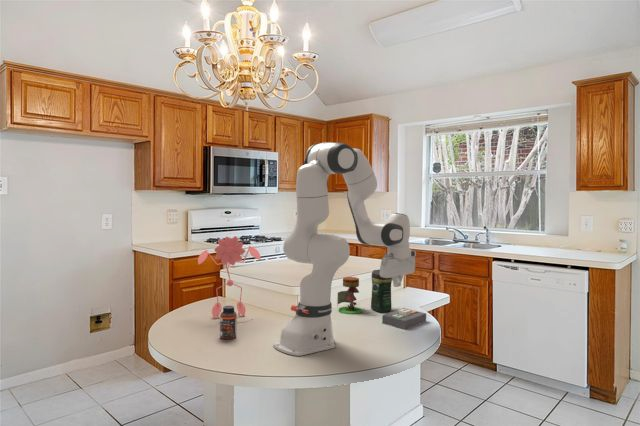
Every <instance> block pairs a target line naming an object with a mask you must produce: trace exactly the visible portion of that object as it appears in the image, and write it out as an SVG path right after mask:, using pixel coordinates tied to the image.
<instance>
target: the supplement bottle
mask: <svg viewBox="0 0 640 426" xmlns="http://www.w3.org/2000/svg"><path fill="white" fill-rule="evenodd" d="M237 315H238V313H237V312H236V311H235V306H234V305H224V306H222V312H220V314H219V316H220V317H219V319H220V321H219V323H220V324H219V337H220V338H221V339H223V340H232V339H235V338H236V337H237V324H238V322H237V321H238V320H237V319H238V318H237V317H238V316H237Z"/></svg>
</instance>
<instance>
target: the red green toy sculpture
mask: <svg viewBox="0 0 640 426" xmlns="http://www.w3.org/2000/svg"><path fill="white" fill-rule="evenodd" d="M359 286H360V278H359V277H355V276H346V277H345V276H344V277H343V278H342V287H344V288H348V289H347V290H343V291H338V292H337V299H336V301H337V303H336V304H337V307H339V305H340V304H341V303H347V306H342V307H339V308H338V312H339V313H342V314H347V315H355V314H356V315H357V314H361V313H363V309H362V308H360V307H358V306H357V305H358V304H357V302H356V301H357V297H356V296H355V295H354V294H355V293H356V294H359V293H360V291H359V289H358V287H359Z"/></svg>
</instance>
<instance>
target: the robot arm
mask: <svg viewBox="0 0 640 426" xmlns="http://www.w3.org/2000/svg"><path fill="white" fill-rule="evenodd" d="M335 174H336V175H341V176H342V177H343V180H344V181H345V184H346V187H347V190H348V191H347V195H346V196H347V197H346V198H347V202H348V207H349V209H350V212H351V215H352V219H353V223H354V228H355V232H356V233H355V234H356V238H357V240H358V241H359V242H360V244H362V245H366V246H368V245H369V246H370V245H371V246H372V245H373V246H378V247H379V246H380V247H381V246H382V247H387V248H386V249H387V250H386V254H384V255H383V257H382V258H381V261H380V265H379V270H380V276H381V277H383V278H391V277H392V284H393V285H392V286H393V287H394V288H399V287H402V281H403V279H404V276H406V275H411V274H414V273H415V271H416V258H415V257H416V256H417V252H416V251H415V250H413V249H411V248H410V242H409V241H410V236H411V225H410V223H411V221H410V219H409V216H408V215H407V214H405V213H398V212H392V213H390V214H389V217H387V218H386V219H385V220H382V221H377V220H372V219H371V218H370V217H369V216H368V212H367V209H366V205H365V201H366V200H367V199H369V198H371V197H372V196H373V195H374V194H375V192H376V190H377V187H378V181H377V180H378V179H377V177H376V175H375V172H374V170H373V168H372V165H371V164H370V162H369V160H368V158H367V157H366V155H365V153H364V152H363V151H362V150H361V149H359V148H355V147H354V148H353V147H352V146H350V145H349V144H346V143H343V142H331V141H326V142H318V143H315V144H313V145H312V144H311V146H310V147H309V148H307V150H306V153H305V156H304V161H303V164H302V165H301V166H300V167H299V168H298V170H297V173H296V181H295V183H296V185H295V189H296V190H295V195H296V215H297V216H296V222H295V226H294V229H292V231H291V233H290V234H288V235H287V236H286V237H285V239H284V242H283V253H284V255H285V256H286V258H287V259H289V260H291V261H293V262H297V263H302V264H311V265H312V270H311V272H310V273H309V274H307V275H305V276H304V277H302V278H301V281H300V283H299V302H298V304H297V305H296V304H295V305H294V304H291V306H290V310H291V311H293V312H295V314H294V315H293V316H292V317H291V318H290V320H289V321H287V323H285V325H284V326H283V327H282V329H281V332H280V339H279V340H276V341H275V342H273V345H272V346H273V347H274V348H275V350H277V351H280V352H282V353H285V354H287V355H291V356H296V357H297V356H298V357H299V356H305V355H310V354H313V353H318V352H323V351H327V350H330V349H335V347H336V346H335V338H334V334H333V325H332V324H333V323H332V318H331V314H332V309H333V307H332V305H333V304H332V301H331V297H332V296H331V294H332V293H331V292H332V282H333V279H334V277H335V275H336V273H337V271H338V270H339V268H341V267H342V266H343V265H345V264H346V263H347V261H348V260H349V258H350V254H351V249H350V248H351V247H350V244H349V242H348V241H347V239H346V238H345V237H342V236H337V235H334V234H326V233H318V228H319V225H320V224H322V223H324V222H326V220H327V219H328V218H329V214H330V210H329V208H330V207H329V206H330V205H329V204H330V203H329V192H328V179H329V176H330V175H335Z"/></svg>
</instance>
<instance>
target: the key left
mask: <svg viewBox="0 0 640 426" xmlns="http://www.w3.org/2000/svg"><path fill="white" fill-rule="evenodd" d="M392 317H394V318H398V319H401V318H404V316H402V315H398V314H396V315H392Z"/></svg>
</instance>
